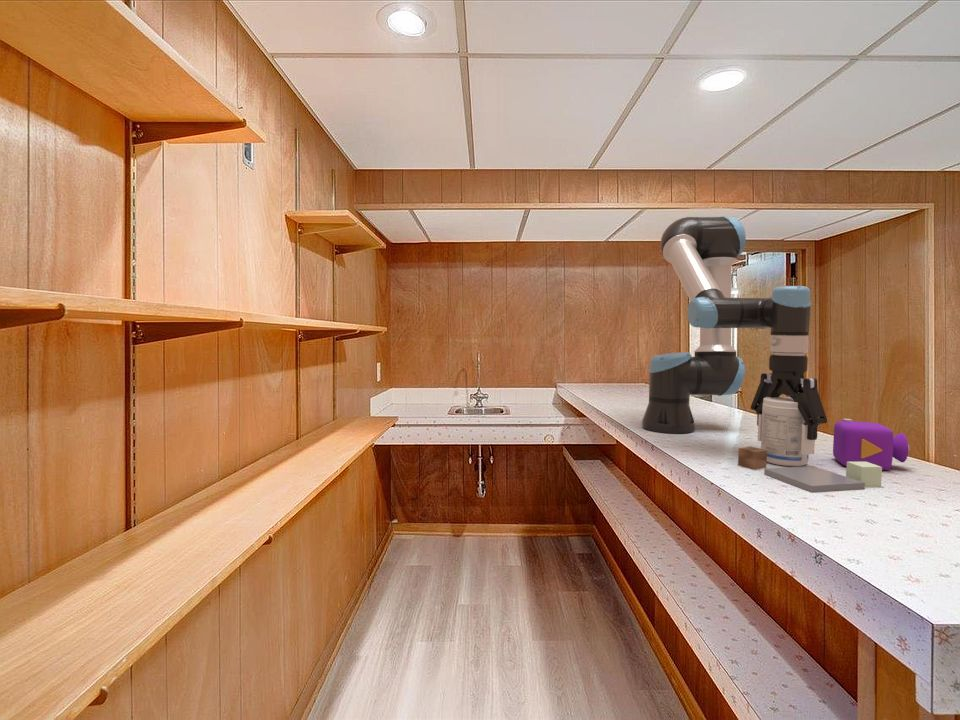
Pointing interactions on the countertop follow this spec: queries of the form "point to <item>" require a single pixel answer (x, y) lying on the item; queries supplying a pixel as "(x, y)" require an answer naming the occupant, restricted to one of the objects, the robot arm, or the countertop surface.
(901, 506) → the countertop surface
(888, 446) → the toy camera
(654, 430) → the robot arm
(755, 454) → the walnut block
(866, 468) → the pale green cube
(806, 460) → the supplement tub
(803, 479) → the slate coaster
